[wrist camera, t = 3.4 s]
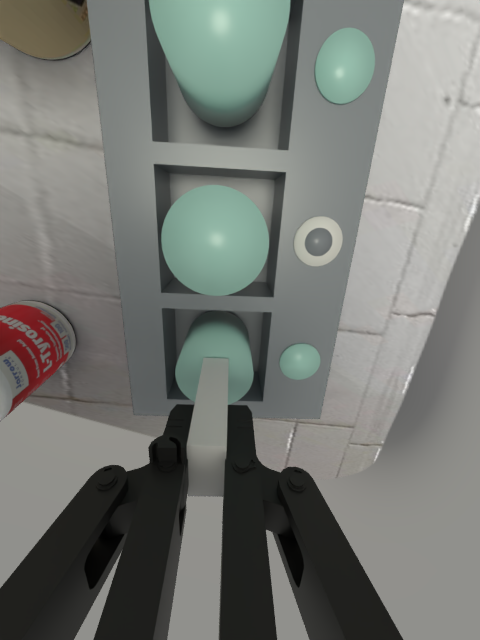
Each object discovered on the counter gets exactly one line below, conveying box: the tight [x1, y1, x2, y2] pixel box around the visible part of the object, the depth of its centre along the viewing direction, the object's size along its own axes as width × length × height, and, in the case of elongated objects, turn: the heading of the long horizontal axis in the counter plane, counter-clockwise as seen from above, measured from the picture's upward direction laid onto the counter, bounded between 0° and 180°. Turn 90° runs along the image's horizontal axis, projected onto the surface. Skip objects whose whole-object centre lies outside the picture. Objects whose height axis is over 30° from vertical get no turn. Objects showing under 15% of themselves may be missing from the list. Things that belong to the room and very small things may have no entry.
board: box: [87, 0, 404, 419], centre depth 18 cm, size 14×26×5 cm, turn 177°
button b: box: [161, 185, 269, 296], centre depth 15 cm, size 5×5×5 cm
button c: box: [149, 0, 290, 127], centre depth 12 cm, size 5×5×5 cm
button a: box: [175, 311, 254, 405], centre depth 19 cm, size 5×5×5 cm
